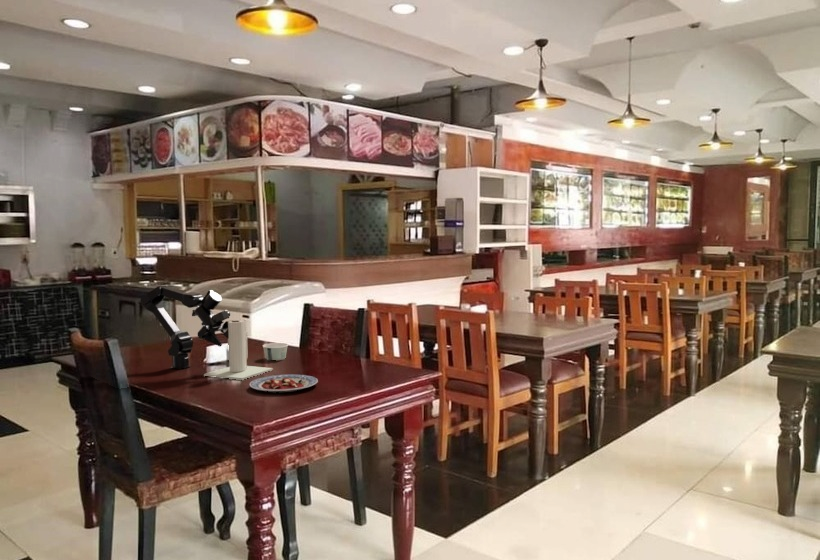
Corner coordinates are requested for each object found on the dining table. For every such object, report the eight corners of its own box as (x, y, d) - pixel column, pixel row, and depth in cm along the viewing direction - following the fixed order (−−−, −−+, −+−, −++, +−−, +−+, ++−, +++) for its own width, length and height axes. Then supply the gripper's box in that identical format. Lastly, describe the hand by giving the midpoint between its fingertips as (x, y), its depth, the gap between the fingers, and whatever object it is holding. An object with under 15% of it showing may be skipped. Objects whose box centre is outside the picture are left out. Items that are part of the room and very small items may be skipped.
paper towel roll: (229, 373, 258) (228, 322, 257) (229, 370, 264) (227, 320, 262) (247, 371, 260) (246, 321, 259) (246, 368, 266) (245, 319, 264)
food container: (283, 361, 286) (283, 347, 286) (258, 361, 288) (258, 347, 288) (292, 356, 298) (291, 343, 298) (268, 356, 300) (268, 342, 299)
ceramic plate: (250, 398, 222) (250, 390, 222) (248, 382, 246) (248, 375, 246) (322, 392, 229) (322, 384, 229) (313, 377, 254) (313, 370, 253)
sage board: (204, 376, 257) (203, 373, 257) (236, 366, 275) (236, 364, 275) (242, 380, 249) (242, 378, 249) (272, 370, 267) (272, 368, 267)
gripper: (202, 306, 255) (224, 335, 252) (231, 302, 272) (252, 328, 269) (187, 324, 259) (209, 352, 255) (217, 318, 276) (238, 345, 273)
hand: (228, 344), depth 263 cm, fingers open, 9 cm apart
